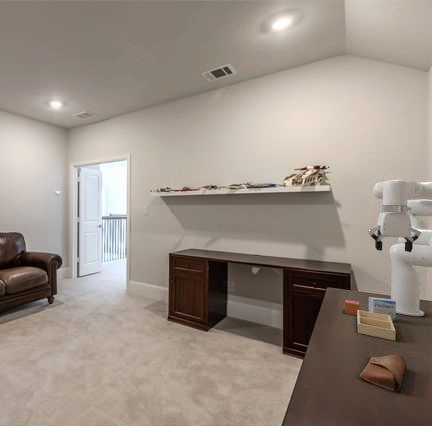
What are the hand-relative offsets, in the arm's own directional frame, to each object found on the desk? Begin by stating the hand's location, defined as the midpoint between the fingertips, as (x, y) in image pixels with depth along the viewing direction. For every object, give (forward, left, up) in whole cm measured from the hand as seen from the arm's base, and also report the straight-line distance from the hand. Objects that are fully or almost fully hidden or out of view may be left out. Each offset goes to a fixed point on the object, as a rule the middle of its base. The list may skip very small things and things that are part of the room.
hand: (393, 251), depth 124 cm
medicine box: (-3, -3, -30) cm, 31 cm away
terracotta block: (-4, -13, -30) cm, 33 cm away
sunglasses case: (+55, -6, -30) cm, 63 cm away
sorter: (+13, -6, -30) cm, 33 cm away
